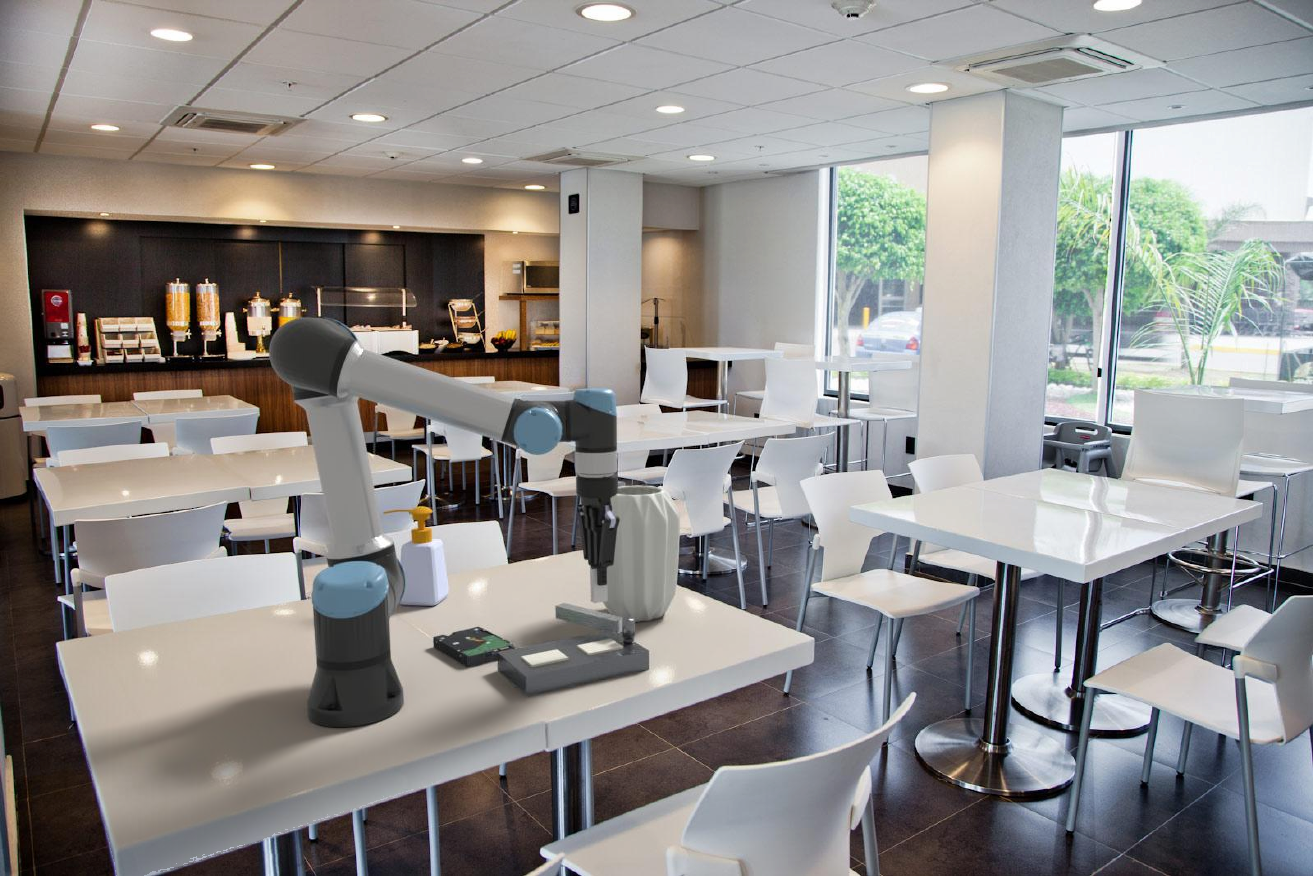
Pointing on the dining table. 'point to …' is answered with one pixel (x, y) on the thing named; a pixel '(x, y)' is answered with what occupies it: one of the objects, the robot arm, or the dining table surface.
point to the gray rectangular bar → (596, 619)
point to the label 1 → (544, 658)
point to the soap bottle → (423, 563)
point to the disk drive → (471, 646)
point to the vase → (643, 553)
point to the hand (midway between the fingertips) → (599, 601)
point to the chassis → (571, 663)
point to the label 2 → (599, 647)
